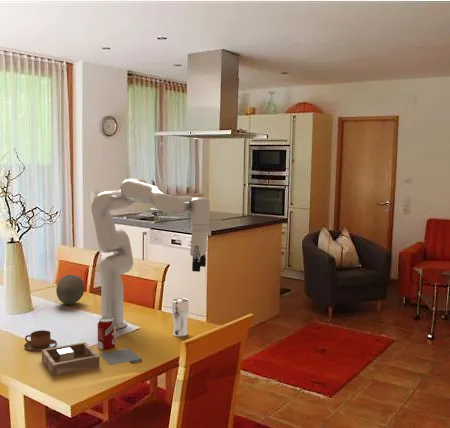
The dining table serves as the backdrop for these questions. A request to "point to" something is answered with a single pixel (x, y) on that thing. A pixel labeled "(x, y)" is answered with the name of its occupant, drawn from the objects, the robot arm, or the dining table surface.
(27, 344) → the cup and saucer
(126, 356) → the slate mat
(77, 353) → the walnut crate
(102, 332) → the soda can
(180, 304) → the beer glass
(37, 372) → the dining table surface
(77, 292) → the cantaloupe
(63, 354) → the metal block
